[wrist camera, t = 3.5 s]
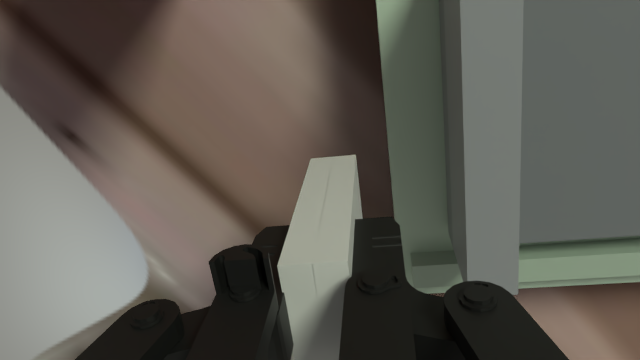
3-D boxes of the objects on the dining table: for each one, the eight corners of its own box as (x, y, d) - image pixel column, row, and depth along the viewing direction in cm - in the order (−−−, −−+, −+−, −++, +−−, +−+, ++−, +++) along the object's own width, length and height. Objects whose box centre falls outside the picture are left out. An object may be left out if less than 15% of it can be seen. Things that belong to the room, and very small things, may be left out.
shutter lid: (436, -50, 16) (458, -56, 12) (792, -102, 14) (948, -128, 10) (448, 232, 19) (468, 297, 16) (731, 211, 18) (830, 277, 14)
